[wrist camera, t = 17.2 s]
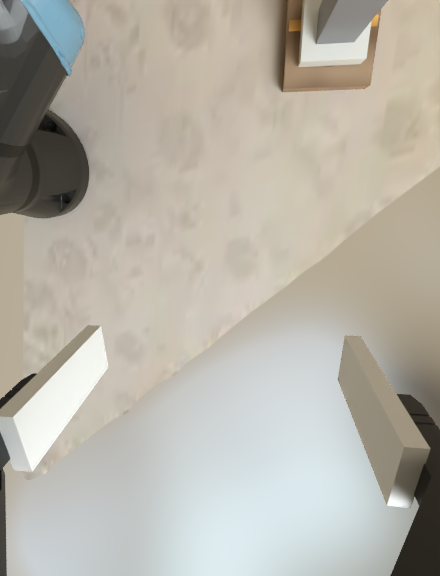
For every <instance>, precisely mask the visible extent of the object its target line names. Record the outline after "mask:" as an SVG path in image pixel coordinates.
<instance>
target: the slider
mask: <svg viewBox="0 0 440 576" xmlns="http://www.w3.org/2000/svg"><path fill="white" fill-rule="evenodd" d="M387 1H388V0H303V4H302V19H301V34H300V49H299V63H298V67H314V66H334V65H354V64H361V63H362V62H363V61H364V60H365V59H366V58H367V51H368V44H369V36H370V29H371V22H372V19H373V18H374V17H375V16H376V15H377V13H378V12H379V11H380V10H381V8H382V7H383V6H384V5H385V3H386V2H387Z"/></svg>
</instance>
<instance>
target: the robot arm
mask: <svg viewBox="0 0 440 576" xmlns="http://www.w3.org/2000/svg"><path fill="white" fill-rule="evenodd" d="M84 35H85V31H84V26H83V22H82V19H81V17H80V15H79V13H78V12H77V10H76V9H75V7H74V6H73V5H72V4H71V2H70V1H69V0H0V215H2V214H7V213H11V212H12V213H17V214H21V215H25V216H30V217H34V218H51V217H56V216H60V215H63V214H66V213H68V212H70V211H72V210H73V209H74V208H75V207H77V206H78V204H79V203H80V202H81V201H82V199H83V197H84V195H85V193H86V190H87V187H88V181H89V167H88V161H87V157H86V153H85V151H84V148H83V146H82V144H81V142H80V140H79V138H78V137H77V135H76V134H75V132H74V131H73V130H72V128H71V127H70V126H69V125H68V124H67V123H66V122H65V121H64V120H62V119H61V118H60V117H59V116H57V115H55V114H54V113H52V112H50V111H48V108H49V107H50V105H51V103H52V101H53V99H54V98H55V96H56V94H57V92H58V90H59V88H60V87H61V85H62V83H63V81H64V79H65V78H66V76H70V75H71V72H72V71H71V67H72V65H73V63H74V61H75V58H76V56H77V54H78V52H79V50H80V48H81V46H82V44H83V41H84ZM107 368H108V362H107V356H106V351H105V346H104V340H103V335H102V329H101V326H89V325H88V326H87V327H86V328H85V329H84V330H83V331H82V332H80V333H79V334H78V335H77V336H76V337H75V338H74V339H73V340H72V341H71V342H70V343H69V344H68V345H67V346H66V347H65V348H64V349H63V350H62V351H61V352H60V353H58V354H57V355H56V356H55V357H54V358H53V359H52V360H51V361H50V362H49V363H48V364H47V365H46V366H45V367H44V368H43V369H42V370H41V371H40V372H39V373H38V374H31V375H30V376H28V377H26V378H24V379H23V380H21V381H20V382H19V383H18V384H17V385H16V386H15V387H13V388H12V390H10V391H9V392H8V393H7V394H6V395H5V397H3V398H1V399H0V576H7V575H6V520H5V519H6V517H5V516H6V512H5V474H4V471H3V467H4V466H5V464H6V463H7V462H8V461H9V460H10V461H11V463H12V466H13V469H14V470H19V471H29V472H32V471H33V470H34V469H35V467H36V466H37V465H38V463H39V462H40V460H41V459H42V458H43V456H44V455H45V454H46V452H47V451H48V449H49V448H50V447H51V445H52V444H53V443H54V441H55V440H56V438H57V437H58V436H59V434H60V433H61V432H62V430H63V429H64V427H65V426H66V425H67V423H68V422H69V421H70V419H71V418H72V416H73V415H74V414H75V412H76V411H77V410H78V408H79V407H80V405H81V404H82V403H83V401H84V400H85V399H86V397H87V396H88V394H89V393H90V392H91V390H92V389H93V388H94V386H95V385H96V383H97V382H98V381H99V379H100V378H101V377H102V375H103V374H104V372H105V371H106V370H107ZM338 381H339V384H340V386H341V389H342V391H343V394H344V396H345V399H346V402H347V404H348V407H349V409H350V412H351V414H352V417H353V419H354V422H355V425H356V427H357V430H358V432H359V435H360V437H361V440H362V443H363V445H364V448H365V450H366V453H367V455H368V458H369V460H370V463H371V466H372V468H373V471H374V473H375V476H376V478H377V481H378V484H379V486H380V489H381V491H382V494H383V496H384V499H385V501H386V504H387V505H388V506H397V507H409V508H411V505H412V502H413V499H414V497H416V499H417V501H418V504H419V509H418V511H417V513H416V516H415V518H414V521H413V523H412V526H411V528H410V530H409V533H408V535H407V538H406V540H405V542H404V545H403V547H402V550H401V552H400V555H399V557H398V559H397V562H396V564H395V566H394V569H393V571H392V574H391V576H440V430H439V428H438V427H437V426H436V425H435V422H434V421H433V419H432V418H431V417H429V414H428V412H427V411H426V410H425V408H424V407H423V405H422V404H421V403H420V402H418V401H417V400H416V399H415V398H413V397H412V396H411V395H404V394H396V393H395V391H394V389H393V388H392V386H391V385H390V383H389V381H388V380H387V378H386V377H385V375H384V373H383V372H382V370H381V369H380V367H379V366H378V364H377V362H376V361H375V359H374V357H373V356H372V354H371V352H370V351H369V349H368V348H367V346H366V344H365V343H364V341H363V340H362V338H361V337H359V336H345V339H344V345H343V351H342V357H341V363H340V370H339V377H338Z"/></svg>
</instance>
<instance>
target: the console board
mask: <svg viewBox="0 0 440 576" xmlns="http://www.w3.org/2000/svg"><path fill="white" fill-rule="evenodd" d="M302 4H303V0H287V17H286V35H285V54H284V73H283V92H297V91H322V90H346V89H365V88H366V87H368V86H369V85H370V83H371V76H372V70H373V63H374V56H375V49H376V42H377V35H378V28H379V21H380V14H381V10H380V11H379V12H378V13H377V15H376V16H375V17H374V18H373V19H372V22H371V29H370V36H369V44H368V51H367V58H366V59H365V60H364V61H363V62H362V63H361V64H354V65H334V66H314V67H298V63H299V49H300V34H301V19H302Z"/></svg>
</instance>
